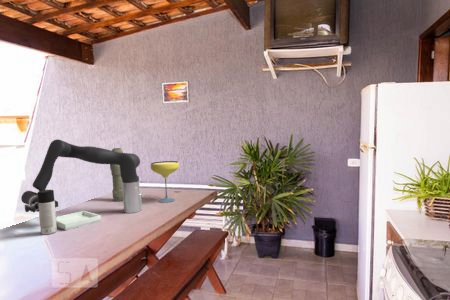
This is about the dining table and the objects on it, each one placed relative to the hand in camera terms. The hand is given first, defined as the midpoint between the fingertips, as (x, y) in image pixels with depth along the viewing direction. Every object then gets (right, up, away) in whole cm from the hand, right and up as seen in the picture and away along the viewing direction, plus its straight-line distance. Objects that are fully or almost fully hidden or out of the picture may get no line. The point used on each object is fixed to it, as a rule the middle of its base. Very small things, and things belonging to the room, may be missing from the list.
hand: (44, 208), depth 152 cm
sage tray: (+10, -9, +11) cm, 17 cm away
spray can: (+4, -11, -4) cm, 12 cm away
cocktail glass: (+49, -5, +53) cm, 73 cm away
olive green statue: (+17, -6, +59) cm, 62 cm away
